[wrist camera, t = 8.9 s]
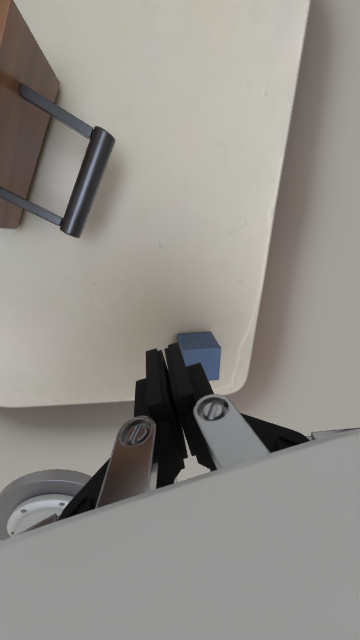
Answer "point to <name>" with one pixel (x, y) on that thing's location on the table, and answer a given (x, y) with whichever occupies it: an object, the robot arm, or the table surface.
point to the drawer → (38, 129)
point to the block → (201, 352)
